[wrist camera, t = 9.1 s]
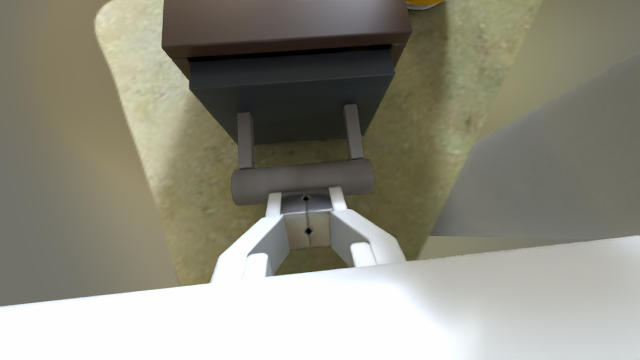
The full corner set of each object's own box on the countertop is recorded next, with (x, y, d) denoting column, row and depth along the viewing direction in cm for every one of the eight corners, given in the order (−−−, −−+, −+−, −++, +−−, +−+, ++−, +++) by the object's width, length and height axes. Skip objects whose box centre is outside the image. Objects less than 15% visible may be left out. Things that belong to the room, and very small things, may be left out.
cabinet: (368, 123, 16) (413, 31, 9) (232, 134, 16) (160, 47, 9) (348, -8, 19) (370, -168, 11) (229, -2, 18) (171, -162, 11)
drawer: (374, 202, 14) (415, 180, 9) (239, 215, 14) (185, 201, 8) (345, 4, 18) (360, -112, 12) (234, 11, 17) (193, -106, 11)
